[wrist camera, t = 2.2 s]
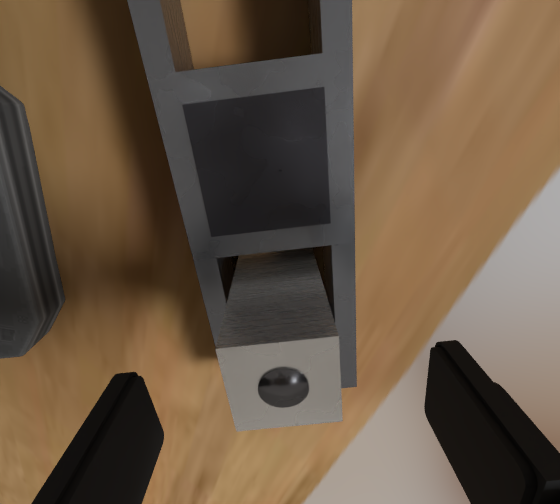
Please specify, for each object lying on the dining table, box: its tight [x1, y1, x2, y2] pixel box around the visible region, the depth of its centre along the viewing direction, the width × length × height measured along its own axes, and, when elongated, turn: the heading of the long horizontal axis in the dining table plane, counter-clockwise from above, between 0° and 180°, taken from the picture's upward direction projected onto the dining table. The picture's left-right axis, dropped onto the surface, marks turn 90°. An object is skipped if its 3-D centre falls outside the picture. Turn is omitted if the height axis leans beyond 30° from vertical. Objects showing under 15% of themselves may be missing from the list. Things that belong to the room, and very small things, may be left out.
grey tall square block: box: [215, 247, 342, 431], centre depth 13 cm, size 4×4×8 cm
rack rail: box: [127, 0, 357, 388], centre depth 13 cm, size 24×7×3 cm, turn 6°
